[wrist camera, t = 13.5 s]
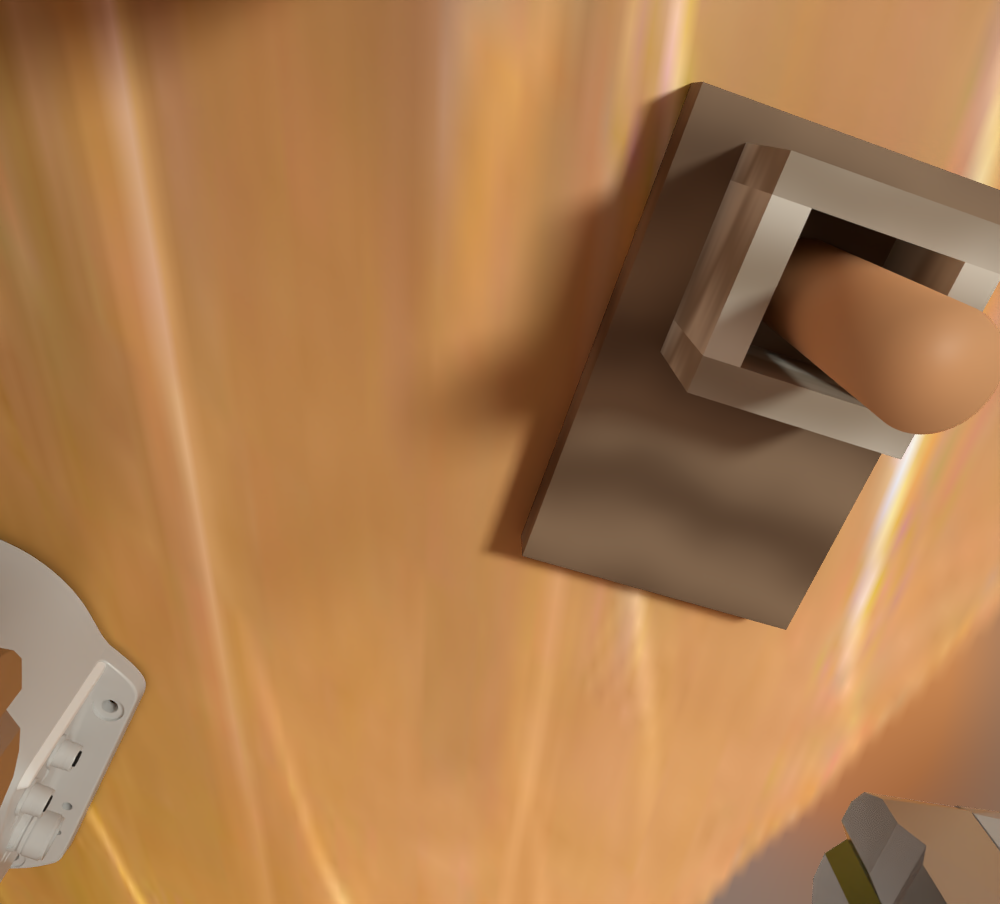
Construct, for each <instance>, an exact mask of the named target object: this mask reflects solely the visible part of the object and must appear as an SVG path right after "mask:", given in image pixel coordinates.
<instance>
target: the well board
mask: <svg viewBox="0 0 1000 904" xmlns="http://www.w3.org/2000/svg"><path fill="white" fill-rule="evenodd" d="M798 238H813V239H817V240H820V241H823V242H825V243H827V244H829V245H832V246H834V247H836V248H839V249H841V250H843V251H846V252H848V253H850V254H852V255H855V256H857V257H859V258H862V259H864V260H866V261H868V262H871V263H873V264H875V265H878V266H880V267H882V268H885V269H887V270H889V271H891V272H894V273H896V274H898V275H901V276H903V277H905V278H907V279H910V280H912V281H914V282H917V283H919V284H921V285H924V286H926V287H928V288H930V289H933V290H935V291H937V292H940V293H942V294H944V295H946V296H949V297H951V298H953V299H956V300H958V301H960V302H963V303H965V304H967V305H969V306H972V307H974V308H976V309H978V310H980V311H982V312H983V310H984V308H985V306H986V304H987V303H988V301H989V299H990V297H991V295H992V294H993V292H994V290H995V288H996V286H997V284H998V283H999V281H1000V190H998V189H995V188H993V187H990V186H987V185H984V184H982V183H979V182H976V181H973V180H971V179H968V178H965V177H962V176H960V175H957V174H954V173H951V172H949V171H946V170H943V169H940V168H938V167H935V166H932V165H929V164H927V163H924V162H921V161H919V160H916V159H913V158H910V157H908V156H905V155H902V154H899V153H897V152H894V151H891V150H888V149H886V148H883V147H880V146H877V145H875V144H872V143H869V142H866V141H864V140H861V139H858V138H855V137H853V136H850V135H847V134H844V133H842V132H839V131H836V130H833V129H831V128H828V127H825V126H822V125H820V124H817V123H814V122H811V121H809V120H806V119H803V118H800V117H798V116H795V115H792V114H790V113H787V112H784V111H781V110H779V109H776V108H773V107H770V106H768V105H765V104H762V103H759V102H757V101H754V100H751V99H748V98H746V97H743V96H740V95H737V94H735V93H732V92H729V91H726V90H724V89H721V88H718V87H715V86H713V85H710V84H707V83H704V82H696V83H691V86H690V89H689V91H688V94H687V97H686V99H685V102H684V105H683V107H682V110H681V113H680V115H679V118H678V121H677V123H676V126H675V129H674V131H673V134H672V137H671V139H670V142H669V145H668V147H667V150H666V153H665V155H664V158H663V161H662V163H661V166H660V169H659V171H658V174H657V176H656V179H655V182H654V184H653V187H652V190H651V192H650V195H649V198H648V200H647V203H646V206H645V208H644V211H643V214H642V216H641V219H640V222H639V224H638V227H637V230H636V232H635V235H634V238H633V240H632V243H631V246H630V248H629V251H628V254H627V256H626V259H625V262H624V264H623V267H622V270H621V272H620V275H619V277H618V280H617V283H616V285H615V288H614V291H613V293H612V296H611V299H610V301H609V304H608V307H607V309H606V312H605V315H604V317H603V320H602V323H601V325H600V328H599V331H598V333H597V336H596V339H595V341H594V344H593V347H592V349H591V352H590V355H589V357H588V360H587V363H586V365H585V368H584V371H583V373H582V376H581V378H580V381H579V384H578V386H577V389H576V392H575V394H574V397H573V400H572V402H571V405H570V408H569V410H568V413H567V416H566V418H565V421H564V424H563V426H562V429H561V432H560V434H559V437H558V440H557V442H556V445H555V448H554V450H553V453H552V456H551V458H550V461H549V464H548V466H547V469H546V472H545V474H544V477H543V479H542V482H541V485H540V487H539V490H538V493H537V495H536V498H535V501H534V503H533V506H532V509H531V511H530V514H529V517H528V519H527V522H526V525H525V527H524V530H523V533H522V535H521V541H522V556H524V557H528V558H531V559H535V560H539V561H542V562H546V563H549V564H553V565H556V566H560V567H564V568H567V569H571V570H574V571H578V572H581V573H585V574H589V575H592V576H596V577H599V578H603V579H606V580H610V581H614V582H617V583H621V584H624V585H628V586H631V587H635V588H639V589H642V590H646V591H649V592H653V593H656V594H660V595H664V596H667V597H671V598H674V599H678V600H681V601H685V602H689V603H692V604H696V605H699V606H703V607H706V608H710V609H714V610H717V611H721V612H724V613H728V614H731V615H735V616H739V617H742V618H746V619H749V620H753V621H756V622H760V623H764V624H767V625H771V626H774V627H778V628H781V629H785V630H786V629H787V627H788V625H789V624H790V622H791V620H792V618H793V616H794V614H795V612H796V611H797V609H798V607H799V605H800V603H801V601H802V600H803V598H804V596H805V594H806V592H807V590H808V588H809V587H810V585H811V583H812V581H813V579H814V577H815V575H816V574H817V572H818V570H819V568H820V566H821V564H822V563H823V561H824V559H825V557H826V555H827V553H828V551H829V550H830V548H831V546H832V544H833V542H834V540H835V538H836V537H837V535H838V533H839V531H840V529H841V527H842V526H843V524H844V522H845V520H846V518H847V516H848V514H849V513H850V511H851V509H852V507H853V505H854V503H855V502H856V500H857V498H858V496H859V494H860V492H861V490H862V489H863V487H864V485H865V483H866V481H867V479H868V477H869V476H870V474H871V472H872V470H873V468H874V466H875V465H876V463H877V461H878V459H879V457H880V455H881V453H882V454H885V455H888V456H892V457H895V458H898V459H901V458H902V457H903V455H904V453H905V451H906V449H907V447H908V446H909V444H910V442H911V440H912V438H913V437H914V435H915V434H910V433H906V432H902V431H899V430H897V429H894V428H892V427H891V426H889V425H887V424H886V423H885V422H883V421H882V420H881V419H880V418H879V417H877V416H876V415H875V414H874V413H873V412H871V411H870V410H869V409H868V408H867V407H865V406H864V405H863V404H862V403H861V402H859V401H858V400H857V399H856V398H854V397H853V396H852V395H851V394H850V393H848V392H847V391H846V390H845V389H844V388H842V387H841V386H840V385H839V384H838V383H836V382H835V381H834V380H833V379H832V378H830V377H829V376H828V375H827V374H826V373H824V372H823V371H822V370H821V369H820V368H818V367H817V366H816V365H815V364H814V363H812V362H811V361H810V360H809V359H808V358H806V357H805V356H804V355H803V354H802V353H800V352H799V351H798V350H797V349H796V348H794V347H793V346H792V345H791V344H789V343H788V342H787V341H786V340H785V339H783V338H782V337H781V336H780V335H779V334H777V333H776V332H775V331H774V330H773V329H771V328H770V327H769V326H768V325H767V324H765V323H764V322H763V321H762V318H763V316H764V313H765V311H766V309H767V307H768V305H769V302H770V300H771V298H772V296H773V294H774V291H775V289H776V287H777V285H778V282H779V280H780V278H781V276H782V274H783V271H784V269H785V267H786V265H787V262H788V260H789V258H790V256H791V254H792V251H793V249H794V247H795V245H796V243H797V240H798Z"/></svg>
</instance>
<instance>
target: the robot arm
mask: <svg viewBox="0 0 1000 904" xmlns="http://www.w3.org/2000/svg"><path fill="white" fill-rule="evenodd" d="M145 688H146V683H145V679H144V677H143V675H142V674H141V673H140V671H139V670H138V669H137V668H136V667H135V666H134V665H133V664H132V663H131V662H130V661H129V660H127V659H126V658H125V657H124V656H123V655H121V654H120V653H119V652H118V651H117V650H115V649H114V648H113V647H112V646H110V645H109V644H108V643H107V641H106V640H105V639H104V637H103V636H102V634H101V633H100V631H99V630H98V628H97V626H96V624H95V622H94V621H93V619H92V617H91V615H90V614H89V612H88V610H87V609H86V607H85V606H84V604H83V603H82V601H81V600H80V599H79V597H78V596H77V595H76V594H75V593H74V591H73V590H72V589H71V588H70V587H69V586H68V585H67V584H66V583H65V582H64V581H63V580H62V579H61V578H60V577H59V576H58V575H57V574H56V573H54V572H53V571H52V570H51V569H49V568H48V567H47V566H46V565H44V564H43V563H42V562H40V561H39V560H37V559H36V558H34V557H33V556H31V555H29V554H28V553H26V552H24V551H22V550H21V549H19V548H17V547H15V546H13V545H11V544H9V543H6V542H4V541H2V540H0V882H1V880H2V879H3V877H4V876H5V874H6V873H7V871H8V870H9V868H29V867H37V866H42V865H47V864H51V863H55V862H57V861H59V860H60V859H61V858H62V856H63V855H64V853H65V852H66V851H67V849H68V848H69V846H70V845H71V843H72V841H73V839H74V837H75V835H76V833H77V831H78V829H79V827H80V825H81V823H82V821H83V819H84V817H85V815H86V812H87V810H88V808H89V806H90V804H91V802H92V800H93V798H94V796H95V794H96V792H97V790H98V787H99V785H100V783H101V781H102V779H103V777H104V775H105V773H106V771H107V769H108V767H109V765H110V763H111V760H112V758H113V756H114V754H115V752H116V750H117V748H118V746H119V744H120V742H121V740H122V738H123V735H124V733H125V731H126V729H127V727H128V725H129V723H130V721H131V719H132V717H133V715H134V713H135V710H136V708H137V706H138V704H139V702H140V700H141V698H142V696H143V694H144V691H145ZM109 700H112V701H114V702H115V703H116V704H114V703H112V702H110V701H109ZM842 824H843V828H844V831H845V834H846V837H847V839H846V840H845V841H843V842H842V843H840V844H839V845H837V846H836V847H834V848H832V849H831V850H829V851H828V852H826V853H825V854H824V856H823V859H822V861H821V863H820V865H819V867H818V869H817V872H816V874H815V876H814V879H813V894H812V895H813V896H812V904H1000V812H998V811H990V810H984V809H977V808H970V807H963V806H955V807H952V806H948V805H942V804H935V803H929V802H923V801H917V800H910V799H904V798H897V797H892V796H885V795H878V794H873V793H866V792H864V793H863V794H861V795H860V796H859V797H858V798H856V799H855V800H854V801H852V802H851V804H850V806H849V807H848V810H847V811H846V813H845V815H844V817H843V819H842Z"/></svg>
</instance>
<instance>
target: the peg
mask: <svg viewBox="0 0 1000 904" xmlns="http://www.w3.org/2000/svg"><path fill="white" fill-rule="evenodd" d="M762 321H763V322H764V323H765V324H767V325H768V326H769V327H770V328H771V329H773V330H774V331H775V332H776V333H777V334H779V335H780V336H781V337H782V338H783V339H785V340H786V341H787V342H788V343H789V344H791V345H792V346H793V347H794V348H796V349H797V350H798V351H799V352H800V353H802V354H803V355H804V356H805V357H806V358H808V359H809V360H810V361H811V362H812V363H814V364H815V365H816V366H817V367H818V368H820V369H821V370H822V371H823V372H824V373H826V374H827V375H828V376H829V377H830V378H832V379H833V380H834V381H835V382H836V383H838V384H839V385H840V386H841V387H842V388H844V389H845V390H846V391H847V392H848V393H850V394H851V395H852V396H853V397H854V398H856V399H857V400H858V401H859V402H861V403H862V404H863V405H864V406H865V407H867V408H868V409H869V410H870V411H871V412H873V413H874V414H875V415H876V416H877V417H879V418H880V419H881V420H882V421H883V422H885V423H886V424H887V425H889V426H891V427H892V428H894V429H897V430H899V431H902V432H906V433H910V434H932V433H938V432H941V431H945V430H948V429H950V428H953V427H955V426H957V425H959V424H961V423H963V422H964V421H966V420H968V419H969V418H971V417H972V416H973V415H974V414H976V413H977V412H978V411H979V410H980V409H981V408H982V407H983V406H984V405H985V404H986V402H987V401H988V400H989V399H990V398H991V396H992V394H993V393H994V391H995V390H996V388H997V386H998V384H999V382H1000V331H999V329H998V328H997V326H996V324H995V323H994V322H993V321H992V320H991V319H990V318H989V317H988V316H987V315H986V314H985V313H983V312H982V311H980V310H978V309H976V308H974V307H972V306H969V305H967V304H965V303H963V302H960V301H958V300H956V299H953V298H951V297H949V296H946V295H944V294H942V293H940V292H937V291H935V290H933V289H930V288H928V287H926V286H924V285H921V284H919V283H917V282H914V281H912V280H910V279H907V278H905V277H903V276H901V275H898V274H896V273H894V272H891V271H889V270H887V269H885V268H882V267H880V266H878V265H875V264H873V263H871V262H868V261H866V260H864V259H862V258H859V257H857V256H855V255H852V254H850V253H848V252H846V251H843V250H841V249H839V248H836V247H834V246H832V245H829V244H827V243H825V242H823V241H820V240H817V239H813V238H798V240H797V243H796V245H795V247H794V249H793V251H792V254H791V256H790V258H789V260H788V262H787V265H786V267H785V269H784V271H783V274H782V276H781V278H780V280H779V282H778V285H777V287H776V289H775V291H774V294H773V296H772V298H771V300H770V302H769V305H768V307H767V309H766V311H765V313H764V316H763V318H762Z"/></svg>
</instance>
